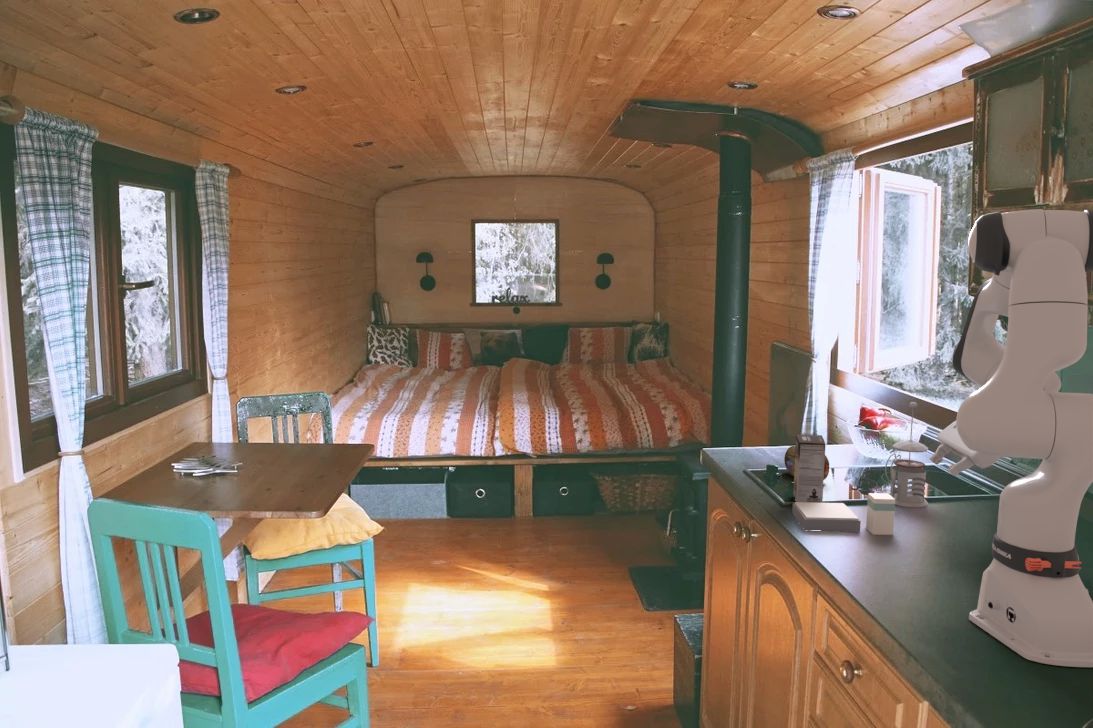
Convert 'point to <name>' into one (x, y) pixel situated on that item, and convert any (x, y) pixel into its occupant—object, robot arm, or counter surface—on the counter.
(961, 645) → the counter surface
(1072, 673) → the counter surface
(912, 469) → the french press
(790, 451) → the tin
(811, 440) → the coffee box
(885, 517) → the carton
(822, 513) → the podium
